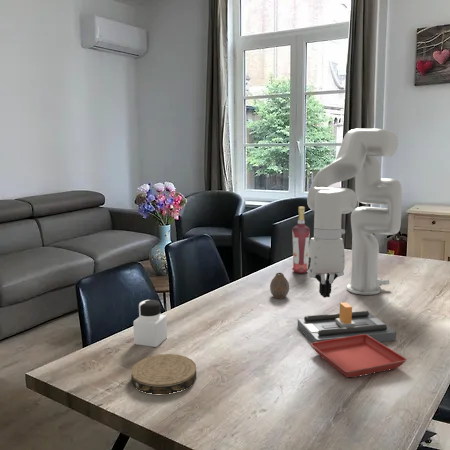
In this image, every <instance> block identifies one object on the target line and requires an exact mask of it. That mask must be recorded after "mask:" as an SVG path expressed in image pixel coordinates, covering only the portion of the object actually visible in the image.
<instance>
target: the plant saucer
mask: <svg viewBox="0 0 450 450" xmlns="http://www.w3.org/2000/svg"><path fill="white" fill-rule="evenodd" d="M310 345H311V346H310V347H312V348H313V350H314V351H315V352H316V353H317V354H318V355H319V356H320V357H321V358H322V359H323V360H325V361H326V362H327V363H328V362H329V365H331V366H332V367H333V366H334V367H333V368H334V369H336V370H337V371H338V370H339V371H338V372H340V373H341V374H342V375H343V374H344V375H343V376H344V377H346V378H347V377H354V378H356V377H355V376H359V377H361V376H360V375H364V376H366V375H365V374H369V375H371V374H370V373H373V374H375V373H374V372H379V371H384V370H389V369H393V370H396V369H397V368H399V367H400V366H402V365H403V364H405V362H407V358H405V357H404V355H403V356H402V355H401V354H400V353H397V352H396V351H394V350H392V349H391V348H389V347H388V346H386V345H385V344H383V342H378V341H377V340H375V339H373V338H372V337H370V336H369V335H366V334H361V335H355V336H349V337H344V338H338V339H332V340H326V341H320V342H314V343H312V342H311V343H310ZM395 368H396V369H395ZM389 371H390V370H389ZM384 372H385V371H384ZM379 373H380V372H379Z"/></svg>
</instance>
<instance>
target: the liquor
mask: <svg viewBox="0 0 450 450" xmlns="http://www.w3.org/2000/svg"><path fill="white" fill-rule="evenodd" d="M297 208H298V209H297V211H298V218H297V224H296V225H294V226H293V227H292V228H291V229H292V230H291V231H292V232H291V233H292V234H291V235H292V265H293V267H292V268H291V270H292V271H293V272H295V274H303V275H304V274H305V273H308V271H309V270H308V269H307V256H308V249H309V244H310V232H311V228H310V227H309V226H308V225H306V224H305V223H306V221H305V210H306V207H305V206H298V207H297Z"/></svg>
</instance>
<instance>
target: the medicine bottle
mask: <svg viewBox="0 0 450 450" xmlns="http://www.w3.org/2000/svg"><path fill="white" fill-rule="evenodd" d="M138 313H139V314H138V315H139V316H138V317H137V318H136V319H135V320H133V323H132V324H133V338H134V339H133V341H134V345H138V346H143V347H150V348H151V347H152V348H157V347H159V345H160V344H162V343H163V342H164V341H165V340H166V339H168V329H167V327H168V326H167V324H168V323H167V315H166V314H161V302H160V301H158V300H156V299H146V300H142V301H140V302H139V304H138Z"/></svg>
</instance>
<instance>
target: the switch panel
mask: <svg viewBox="0 0 450 450" xmlns="http://www.w3.org/2000/svg"><path fill="white" fill-rule="evenodd" d="M339 315H340V312H339V313H329V314H328V313H327V314H314V315H306V316H304V317H302V318H297V327H298V329H299V330H300V331H301V332H302V333H303V334H304V335H305V337H306V338H307V339H308V340H309V341H310V342H311V343H314V342H320V341H326V340H332V339H338V338H344V337H349V336H355V335H361V334H366V335H369V336H370V337H372V338H373V339H375V340H377V341H378V342H380V343H383V342H382V341H386V342H392V341H391V340H396V341H397V332H396V331H395V330H393V328H391V327H390V326H388V325H387V324H386V323H385V322H383V321H381V320H380V318H377V316H375V315H374V314H372V313H371V312H369V311H368V310H363V311H352V321H353V322H354V323H355V327H349V328H341V327H340V326H339V325H338V324H337V323H336V322H335V321H336V318H339Z"/></svg>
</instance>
